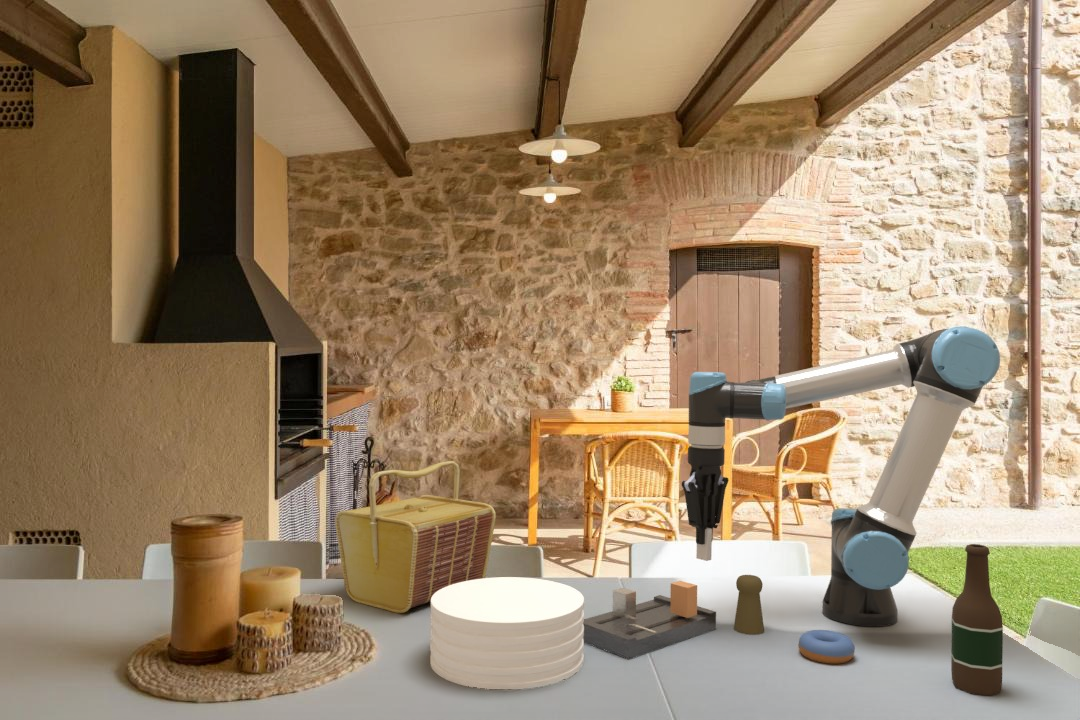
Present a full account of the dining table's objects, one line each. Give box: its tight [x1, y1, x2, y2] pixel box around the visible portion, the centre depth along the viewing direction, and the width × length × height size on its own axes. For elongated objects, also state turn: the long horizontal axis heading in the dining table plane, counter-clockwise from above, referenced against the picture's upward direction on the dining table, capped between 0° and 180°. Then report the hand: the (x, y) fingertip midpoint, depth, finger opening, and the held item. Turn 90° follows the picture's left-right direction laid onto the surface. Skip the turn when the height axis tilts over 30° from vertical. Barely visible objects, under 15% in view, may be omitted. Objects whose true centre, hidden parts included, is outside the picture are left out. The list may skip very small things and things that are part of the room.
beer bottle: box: [950, 543, 1004, 697], centre depth 139 cm, size 8×8×24 cm
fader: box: [670, 580, 698, 618], centre depth 166 cm, size 4×3×6 cm
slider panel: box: [583, 587, 717, 660], centre depth 165 cm, size 15×26×8 cm, turn 131°
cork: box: [733, 574, 765, 636], centre depth 167 cm, size 6×6×11 cm
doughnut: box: [798, 629, 856, 665], centre depth 153 cm, size 10×10×5 cm
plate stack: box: [429, 576, 585, 690], centre depth 150 cm, size 28×28×12 cm
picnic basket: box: [334, 460, 497, 614], centre depth 190 cm, size 29×26×30 cm
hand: (703, 558), depth 171 cm, fingers closed
